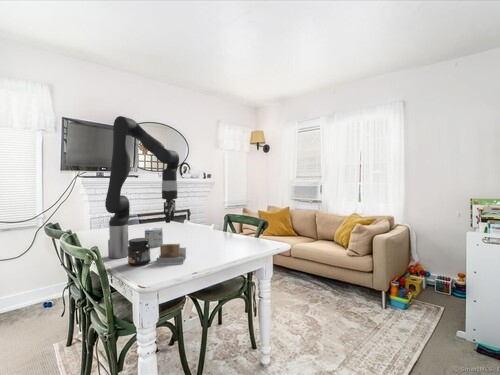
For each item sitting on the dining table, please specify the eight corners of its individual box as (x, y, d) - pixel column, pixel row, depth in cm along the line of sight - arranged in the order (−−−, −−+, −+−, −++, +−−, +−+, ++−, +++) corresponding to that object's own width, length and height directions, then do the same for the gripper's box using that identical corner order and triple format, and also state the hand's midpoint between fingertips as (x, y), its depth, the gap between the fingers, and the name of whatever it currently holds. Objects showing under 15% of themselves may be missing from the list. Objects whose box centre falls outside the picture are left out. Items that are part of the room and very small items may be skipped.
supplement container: (124, 263, 137) (124, 239, 136) (145, 259, 144) (144, 236, 144) (133, 268, 129) (132, 243, 129) (154, 263, 137) (153, 239, 136)
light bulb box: (162, 243, 178) (162, 227, 178) (163, 246, 172) (162, 229, 172) (145, 245, 175) (144, 228, 175) (144, 247, 169) (144, 230, 168)
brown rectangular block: (160, 261, 137) (160, 245, 137) (162, 259, 140) (161, 244, 139) (178, 260, 138) (178, 245, 137) (179, 259, 140) (179, 243, 140)
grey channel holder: (156, 264, 134) (155, 252, 134) (161, 259, 143) (160, 247, 143) (182, 263, 135) (182, 251, 135) (186, 258, 144) (185, 247, 144)
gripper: (165, 189, 146) (166, 219, 146) (158, 190, 132) (158, 223, 132) (180, 189, 146) (180, 219, 147) (173, 190, 132) (174, 223, 133)
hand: (170, 221), depth 139 cm, fingers open, 8 cm apart
